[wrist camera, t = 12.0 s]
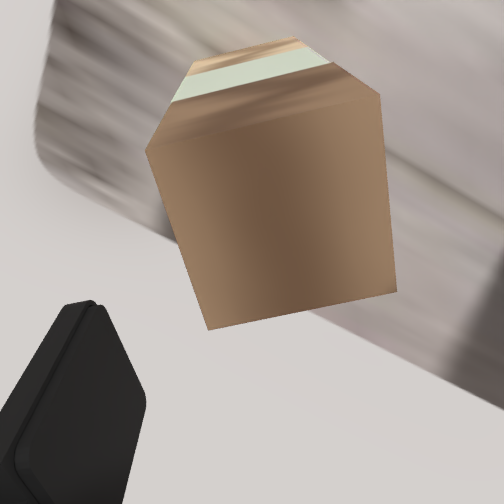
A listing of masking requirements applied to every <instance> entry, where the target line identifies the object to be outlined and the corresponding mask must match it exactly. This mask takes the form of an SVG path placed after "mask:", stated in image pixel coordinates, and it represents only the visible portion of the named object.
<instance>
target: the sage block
mask: <svg viewBox="0 0 504 504" xmlns="http://www.w3.org/2000/svg"><path fill="white" fill-rule="evenodd" d="M328 63H330V62H329V61H327V60H326V59H324V58H323V57H322V56H320V55H319V54H317V53H316V52H315V51H313V50H312V49H310V48H309V47H304V48H300V49H296V50H292V51H288V52H284V53H280V54H276V55H272V56H268V57H264V58H260V59H256V60H252V61H248V62H244V63H240V64H236V65H232V66H228V67H223V68H219V69H215V70H211V71H207V72H203V73H199V74H195V75H191V76H187V77H185V78H184V80H183V82H182V83H181V85H180V87H179V89H178V90H177V92H176V94H175V96H174V97H173V99H172V101H171V103H172V102H174V101H178V100H182V99H186V98H190V97H194V96H198V95H202V94H206V93H210V92H214V91H218V90H222V89H226V88H230V87H234V86H238V85H243V84H247V83H251V82H255V81H259V80H263V79H267V78H271V77H275V76H279V75H283V74H287V73H291V72H295V71H299V70H303V69H307V68H312V67H316V66H320V65H324V64H328Z"/></svg>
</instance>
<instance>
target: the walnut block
mask: <svg viewBox="0 0 504 504" xmlns="http://www.w3.org/2000/svg"><path fill="white" fill-rule="evenodd" d="M145 152H146V155H147V158H148V161H149V164H150V166H151V169H152V172H153V175H154V178H155V181H156V184H157V186H158V189H159V192H160V195H161V198H162V201H163V203H164V206H165V209H166V212H167V215H168V218H169V221H170V223H171V226H172V229H173V232H174V235H175V238H176V240H177V243H178V246H179V249H180V252H181V255H182V257H183V260H184V263H185V266H186V269H187V272H188V275H189V277H190V280H191V283H192V286H193V289H194V292H195V294H196V297H197V300H198V303H199V306H200V309H201V311H202V314H203V317H204V320H205V323H206V325H207V328H208V330H213V329H218V328H223V327H228V326H233V325H238V324H243V323H247V322H252V321H257V320H262V319H267V318H272V317H277V316H282V315H286V314H291V313H296V312H301V311H306V310H311V309H316V308H321V307H326V306H331V305H335V304H340V303H345V302H350V301H355V300H360V299H365V298H370V297H375V296H379V295H384V294H389V293H394V292H397V285H396V274H395V262H394V251H393V239H392V228H391V216H390V205H389V194H388V182H387V171H386V159H385V148H384V136H383V125H382V113H381V102H380V94H379V93H377V92H376V91H374V90H373V89H372V88H370V87H369V86H367V85H366V84H364V83H363V82H361V81H360V80H359V79H357V78H356V77H354V76H353V75H351V74H350V73H348V72H347V71H345V70H344V69H343V68H341V67H340V66H338V65H337V64H335V63H334V62H332V63H328V64H324V65H320V66H316V67H312V68H307V69H303V70H299V71H295V72H291V73H287V74H283V75H279V76H275V77H271V78H267V79H263V80H259V81H255V82H251V83H247V84H243V85H238V86H234V87H230V88H226V89H222V90H218V91H214V92H210V93H206V94H202V95H198V96H194V97H190V98H186V99H182V100H178V101H174V102H172V103H171V105H170V106H169V108H168V110H167V112H166V114H165V115H164V117H163V119H162V121H161V122H160V124H159V126H158V128H157V130H156V131H155V133H154V135H153V137H152V139H151V140H150V142H149V144H148V146H147V147H146V149H145Z"/></svg>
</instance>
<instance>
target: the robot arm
mask: <svg viewBox="0 0 504 504" xmlns="http://www.w3.org/2000/svg"><path fill="white" fill-rule="evenodd" d="M145 410H146V396H145V392H144V390H143V388H142V386H141V383H140V381H139V379H138V377H137V375H136V373H135V371H134V368H133V366H132V364H131V362H130V360H129V358H128V355H127V354H126V351H125V350H124V347H123V345H122V343H121V341H120V338H119V336H118V334H117V332H116V330H115V327H114V325H113V323H112V321H111V319H110V317H109V314H108V312H107V310H106V309H105V307H104V306H103V305H97V304H96V303H95V302H94V301H92V300H88V301H83V302H77V303H73V304H67V305H65V306H64V307H63V308H62V309H61V311H60V313H59V314H58V316H57V318H56V320H55V321H54V323H53V325H52V326H51V328H50V330H49V331H48V333H47V335H46V336H45V338H44V339H43V341H42V343H41V344H40V346H39V348H38V350H37V351H36V353H35V355H34V356H33V358H32V359H31V361H30V363H29V365H28V366H27V368H26V369H25V371H24V373H23V374H22V376H21V378H20V379H19V381H18V383H17V384H16V386H15V388H14V390H13V391H12V393H11V394H10V396H9V398H8V399H7V401H6V403H5V405H4V406H3V408H2V409H1V411H0V504H122V502H123V498H124V494H125V490H126V486H127V482H128V478H129V474H130V470H131V466H132V462H133V457H134V454H135V450H136V446H137V442H138V438H139V433H140V429H141V426H142V422H143V418H144V414H145Z"/></svg>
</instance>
